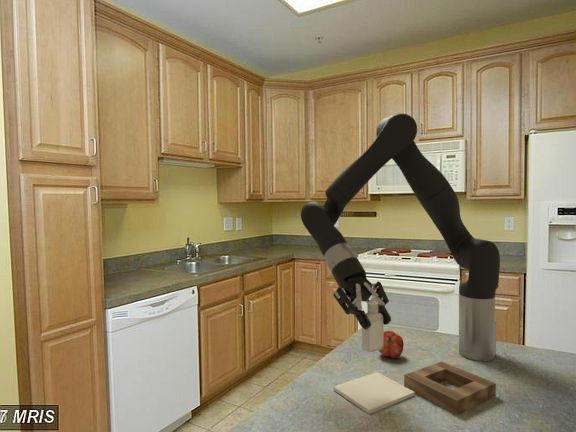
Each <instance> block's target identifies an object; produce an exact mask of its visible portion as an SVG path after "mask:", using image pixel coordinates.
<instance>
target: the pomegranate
mask: <svg viewBox="0 0 576 432" xmlns="http://www.w3.org/2000/svg"><path fill="white" fill-rule="evenodd" d="M404 345H405V343H404V339H403V338H402V336H401V335H399V334H397V333H396V332H394V331H393V330H385V331H383V348H382V349H380V350H379V351H378V352H379V353H380V354H381V355H382V356H383V357H386V358H392V359H397V358H399V357H400V356H401V355H402V354H403V351H404Z"/></svg>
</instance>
